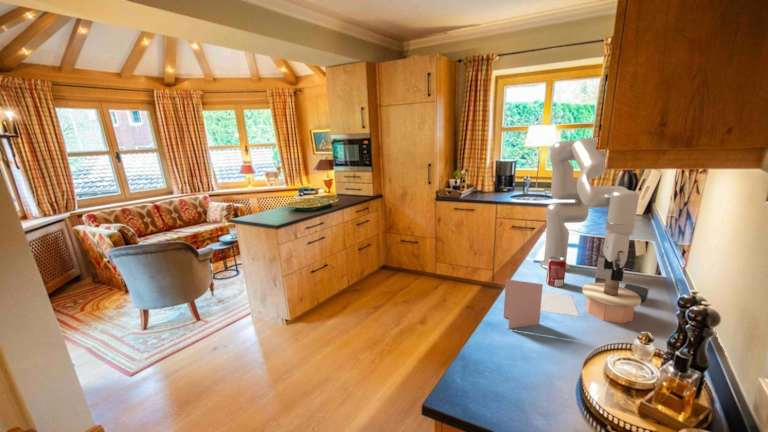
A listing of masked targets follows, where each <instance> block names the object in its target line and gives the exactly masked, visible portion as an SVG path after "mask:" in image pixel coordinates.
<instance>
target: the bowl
mask: <svg viewBox="0 0 768 432" xmlns="http://www.w3.org/2000/svg"><path fill="white" fill-rule="evenodd" d="M585 307H586V311H587V314H589V315H591V316H593V317H596V318H597V319H599V320H602V321H603V322H610V323H618V324H625V323H627V322H632V321H633V318H634V313H635V307H630V308H622V307H614V306H609V305H605V304H601V303H598V302H596V301H593V300H591V299H590V298H588V297H586V301H585Z"/></svg>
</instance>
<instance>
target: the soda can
mask: <svg viewBox="0 0 768 432" xmlns="http://www.w3.org/2000/svg"><path fill="white" fill-rule="evenodd" d="M566 263H567V262H566ZM566 263H565V259H564V258H562V257H558V256H552V257H550V259H549V260H548V266H547V269H546V279H545V282H546V284H547V285H548V286H551V287H554V288H561V287H564V286H565V279H566V277H565V276H566V271H565V269H566Z"/></svg>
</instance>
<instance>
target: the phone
mask: <svg viewBox="0 0 768 432" xmlns="http://www.w3.org/2000/svg"><path fill="white" fill-rule="evenodd" d="M623 288H626V289H629V290H631V291H633V292H635V293H636V294H638V295H639V296H640V298H641V303H645V301H646V300H647V293H648V288H646V287H643V286H640V285H634V284H632V283H631V284H629V283H626V284H625V285H624V286H623Z"/></svg>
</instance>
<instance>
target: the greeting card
mask: <svg viewBox="0 0 768 432" xmlns="http://www.w3.org/2000/svg"><path fill="white" fill-rule="evenodd" d="M543 284H544V283H538V282H537V283H535V282H527V281H521V280H520V281H519V280H515V279H505V285H504V286H505V287H504V303H503V318H504V319H508V327H507V328H508V329H507V330H508V331H510V330H511V329H514V328H521V327H528V326H536V325H540V319H541V311H540V310H541V298H542V292H543Z"/></svg>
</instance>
